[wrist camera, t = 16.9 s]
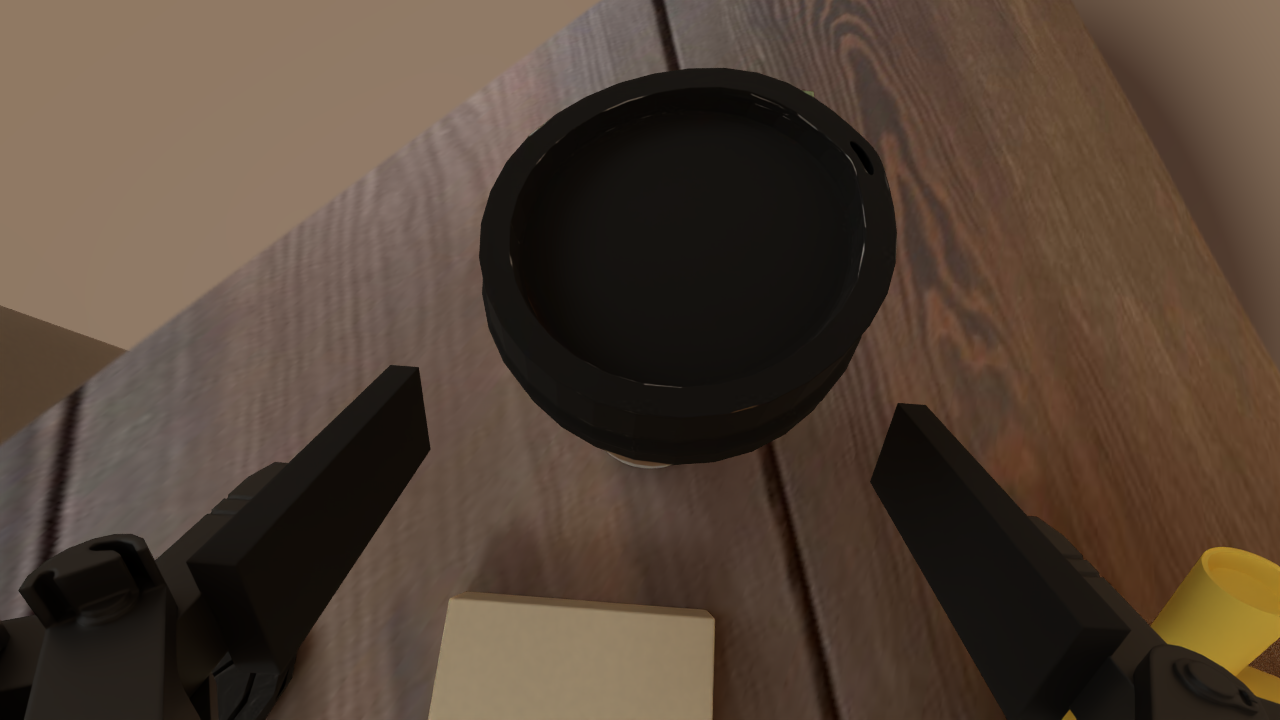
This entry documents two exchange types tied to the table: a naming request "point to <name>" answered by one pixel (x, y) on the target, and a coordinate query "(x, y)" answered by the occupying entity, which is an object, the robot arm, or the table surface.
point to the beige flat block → (572, 660)
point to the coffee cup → (686, 262)
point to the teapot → (1226, 615)
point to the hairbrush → (248, 690)
